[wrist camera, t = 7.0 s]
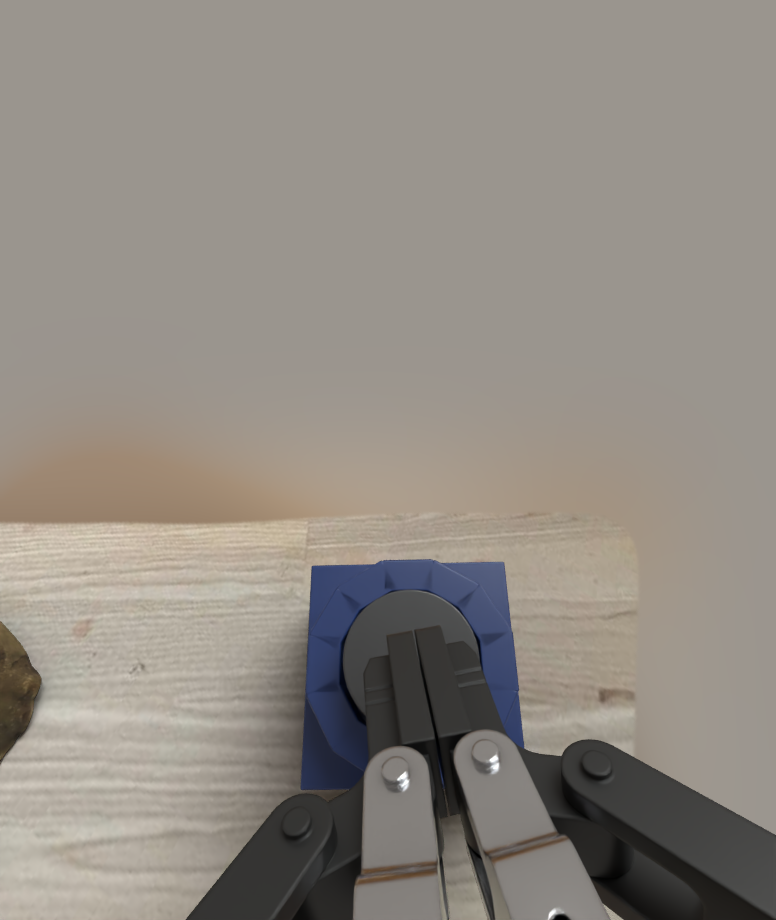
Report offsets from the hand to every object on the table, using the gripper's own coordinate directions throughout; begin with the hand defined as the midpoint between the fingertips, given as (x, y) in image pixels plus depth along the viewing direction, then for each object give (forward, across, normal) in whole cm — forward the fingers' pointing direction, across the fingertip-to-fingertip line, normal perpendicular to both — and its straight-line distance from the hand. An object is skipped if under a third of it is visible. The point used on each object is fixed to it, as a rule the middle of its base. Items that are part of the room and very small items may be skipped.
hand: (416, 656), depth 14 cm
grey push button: (+4, 0, +3) cm, 5 cm away
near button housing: (+9, 0, +9) cm, 13 cm away
